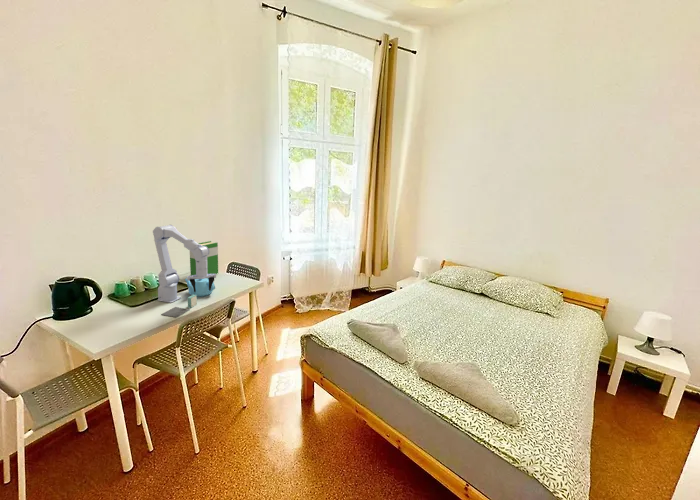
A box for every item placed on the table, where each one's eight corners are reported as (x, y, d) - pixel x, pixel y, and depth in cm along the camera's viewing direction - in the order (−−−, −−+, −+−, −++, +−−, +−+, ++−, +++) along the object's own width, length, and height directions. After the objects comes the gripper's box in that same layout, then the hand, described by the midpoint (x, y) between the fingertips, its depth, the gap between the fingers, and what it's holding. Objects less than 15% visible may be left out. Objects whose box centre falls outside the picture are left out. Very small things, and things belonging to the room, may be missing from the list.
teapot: (188, 299, 186) (188, 282, 184) (185, 290, 198) (184, 274, 196) (216, 295, 195) (215, 279, 192) (211, 287, 207) (210, 272, 204)
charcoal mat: (161, 314, 165) (161, 314, 165) (175, 307, 174) (175, 306, 174) (176, 317, 163) (176, 316, 163) (189, 310, 173) (189, 309, 173)
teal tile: (187, 307, 176) (187, 297, 174) (193, 304, 181) (193, 294, 179) (191, 308, 175) (190, 298, 174) (197, 304, 180) (196, 295, 179)
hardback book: (211, 271, 237) (210, 241, 231) (218, 273, 234) (217, 242, 228) (190, 277, 221) (189, 245, 216) (198, 280, 218) (196, 246, 213)
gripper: (188, 271, 166) (188, 295, 169) (217, 268, 174) (217, 291, 177) (186, 267, 172) (187, 290, 175) (214, 265, 179) (215, 287, 183)
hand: (202, 290), depth 176 cm, fingers open, 7 cm apart
